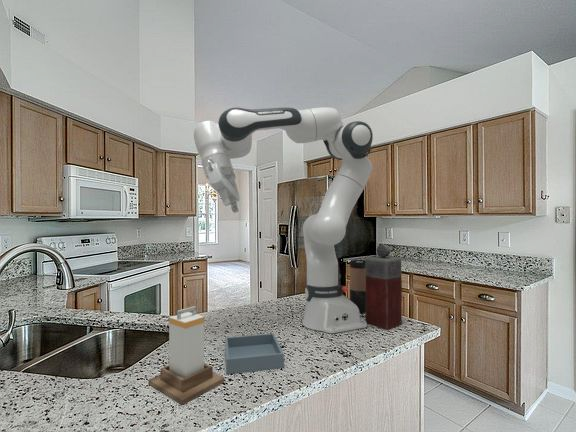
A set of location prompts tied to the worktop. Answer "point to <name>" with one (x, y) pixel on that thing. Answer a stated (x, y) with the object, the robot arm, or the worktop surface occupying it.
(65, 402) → the worktop surface
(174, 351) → the tall lidded canister
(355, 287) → the travel mug
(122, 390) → the worktop surface
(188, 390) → the dock
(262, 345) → the tray
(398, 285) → the red square storage jar
